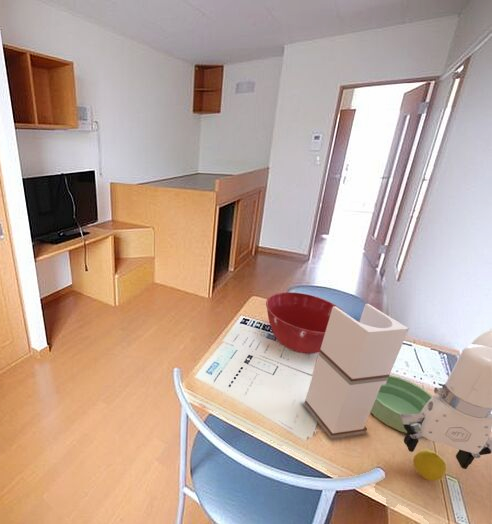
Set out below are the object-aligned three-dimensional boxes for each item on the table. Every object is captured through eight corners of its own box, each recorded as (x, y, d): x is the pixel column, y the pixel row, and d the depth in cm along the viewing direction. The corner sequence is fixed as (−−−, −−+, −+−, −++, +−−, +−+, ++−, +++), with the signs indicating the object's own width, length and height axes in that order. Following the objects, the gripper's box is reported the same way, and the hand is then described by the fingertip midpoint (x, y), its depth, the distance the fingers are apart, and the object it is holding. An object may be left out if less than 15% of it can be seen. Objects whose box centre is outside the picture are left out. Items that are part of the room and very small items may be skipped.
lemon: (403, 464, 77) (414, 442, 74) (425, 465, 77) (437, 443, 73) (420, 487, 72) (433, 465, 68) (444, 488, 71) (458, 466, 68)
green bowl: (420, 398, 96) (427, 384, 94) (446, 446, 81) (455, 430, 79) (355, 381, 103) (360, 367, 100) (368, 423, 88) (374, 408, 85)
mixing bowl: (348, 375, 105) (360, 338, 99) (260, 357, 113) (267, 322, 108) (329, 330, 130) (339, 298, 124) (259, 318, 138) (265, 287, 132)
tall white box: (364, 433, 85) (408, 328, 71) (330, 438, 83) (368, 332, 70) (334, 400, 95) (368, 303, 81) (304, 404, 93) (332, 306, 80)
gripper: (421, 399, 64) (394, 454, 71) (534, 429, 58) (492, 486, 65) (409, 375, 71) (384, 428, 77) (509, 400, 65) (473, 455, 71)
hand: (433, 454), depth 71 cm, fingers open, 9 cm apart
